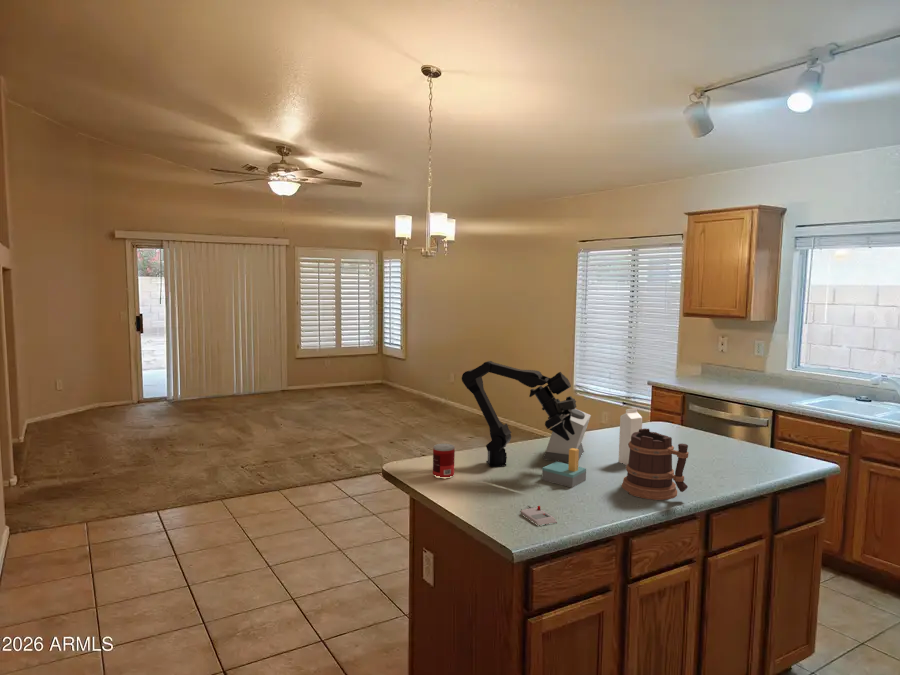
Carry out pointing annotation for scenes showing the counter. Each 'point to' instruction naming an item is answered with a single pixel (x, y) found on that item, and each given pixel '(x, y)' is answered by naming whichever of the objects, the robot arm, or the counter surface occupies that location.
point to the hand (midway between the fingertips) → (571, 437)
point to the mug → (654, 466)
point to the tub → (563, 479)
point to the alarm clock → (560, 446)
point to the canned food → (443, 460)
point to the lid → (567, 465)
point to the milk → (628, 432)
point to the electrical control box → (538, 516)
